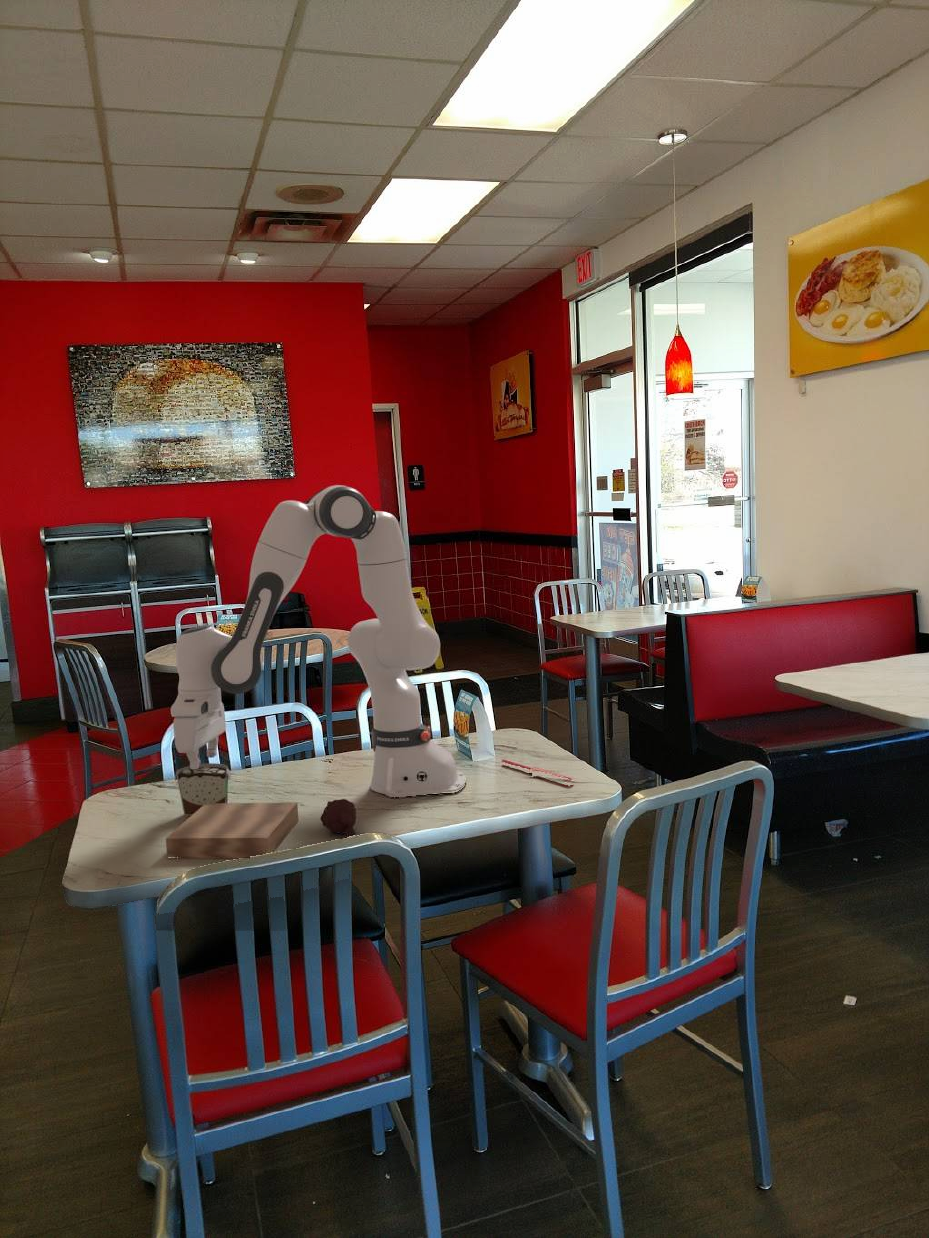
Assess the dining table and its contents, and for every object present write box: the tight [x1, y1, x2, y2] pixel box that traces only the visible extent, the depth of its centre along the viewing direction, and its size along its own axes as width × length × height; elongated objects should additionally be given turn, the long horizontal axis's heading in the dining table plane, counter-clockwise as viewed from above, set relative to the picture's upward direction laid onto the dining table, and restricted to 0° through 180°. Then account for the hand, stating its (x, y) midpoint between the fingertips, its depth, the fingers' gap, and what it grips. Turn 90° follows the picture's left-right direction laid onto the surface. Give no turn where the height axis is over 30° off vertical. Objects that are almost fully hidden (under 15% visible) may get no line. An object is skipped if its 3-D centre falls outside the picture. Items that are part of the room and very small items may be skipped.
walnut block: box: [165, 802, 299, 859], centre depth 181 cm, size 20×20×4 cm
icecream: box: [320, 798, 357, 838], centre depth 182 cm, size 7×7×15 cm
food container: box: [174, 762, 232, 817], centre depth 198 cm, size 12×6×10 cm, turn 84°
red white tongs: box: [501, 757, 573, 780], centre depth 214 cm, size 24×2×5 cm
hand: (204, 762), depth 197 cm, fingers open, 8 cm apart
